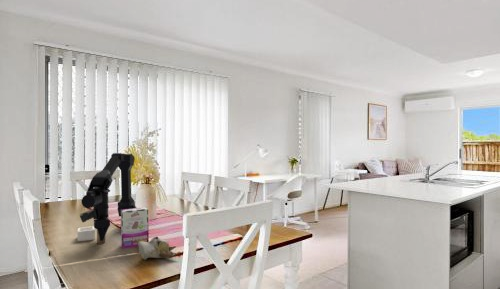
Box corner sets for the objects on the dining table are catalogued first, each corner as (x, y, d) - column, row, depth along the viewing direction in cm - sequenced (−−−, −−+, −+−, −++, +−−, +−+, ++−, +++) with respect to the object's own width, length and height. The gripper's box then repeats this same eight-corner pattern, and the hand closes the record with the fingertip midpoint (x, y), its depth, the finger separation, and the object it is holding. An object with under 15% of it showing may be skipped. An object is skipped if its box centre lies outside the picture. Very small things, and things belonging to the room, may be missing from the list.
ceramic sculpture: (139, 233, 126) (176, 232, 130) (137, 254, 126) (175, 252, 130) (137, 241, 116) (178, 240, 120) (136, 264, 116) (177, 262, 120)
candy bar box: (147, 242, 141) (147, 206, 141) (148, 245, 137) (148, 208, 137) (120, 246, 136) (120, 209, 136) (121, 249, 132) (121, 211, 131)
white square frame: (94, 235, 150) (94, 226, 150) (94, 239, 144) (94, 229, 144) (78, 237, 147) (78, 228, 147) (77, 241, 141) (77, 231, 141)
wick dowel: (105, 241, 142) (105, 221, 141) (105, 243, 139) (105, 223, 138) (96, 242, 140) (96, 222, 140) (97, 244, 137) (97, 224, 137)
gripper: (81, 201, 144) (81, 234, 144) (80, 209, 127) (80, 247, 127) (107, 199, 149) (107, 231, 149) (110, 206, 132) (110, 243, 132)
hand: (101, 237), depth 139 cm, fingers open, 8 cm apart
